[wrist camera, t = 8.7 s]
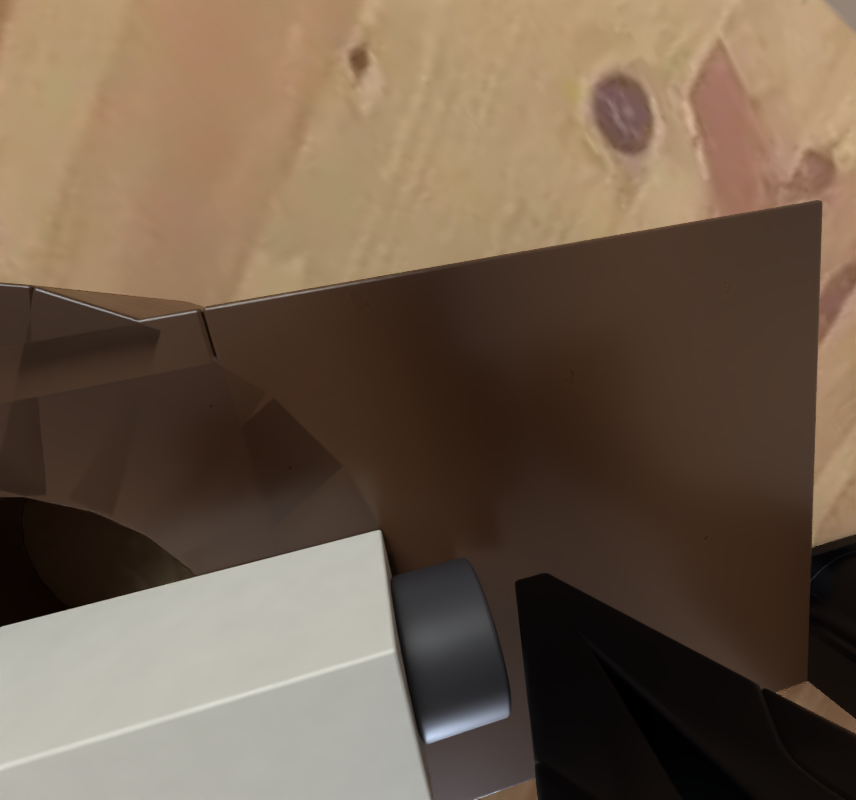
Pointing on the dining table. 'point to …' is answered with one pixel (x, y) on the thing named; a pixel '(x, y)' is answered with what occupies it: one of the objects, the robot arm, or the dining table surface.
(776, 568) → the wooden desk organizer
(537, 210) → the dining table surface
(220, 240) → the dining table surface
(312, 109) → the dining table surface
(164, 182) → the dining table surface
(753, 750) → the robot arm
